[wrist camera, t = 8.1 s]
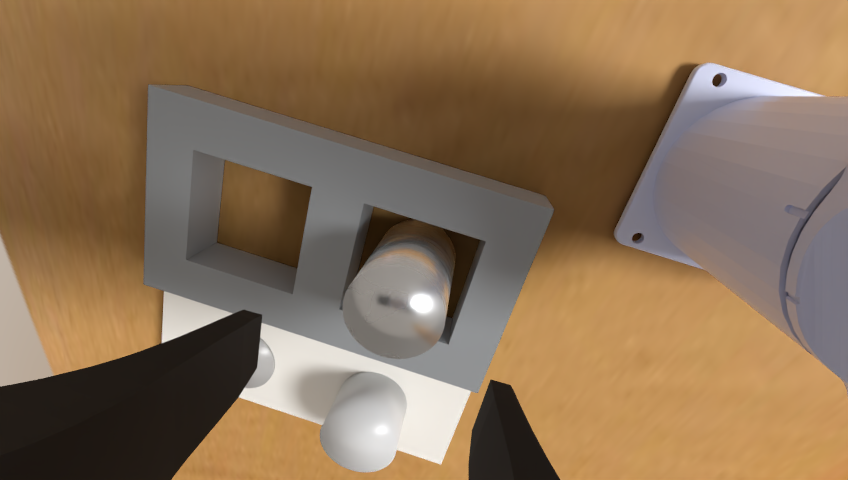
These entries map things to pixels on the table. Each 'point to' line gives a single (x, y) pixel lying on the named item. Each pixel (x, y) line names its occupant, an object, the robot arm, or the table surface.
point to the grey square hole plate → (325, 225)
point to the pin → (402, 291)
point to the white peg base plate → (340, 393)
